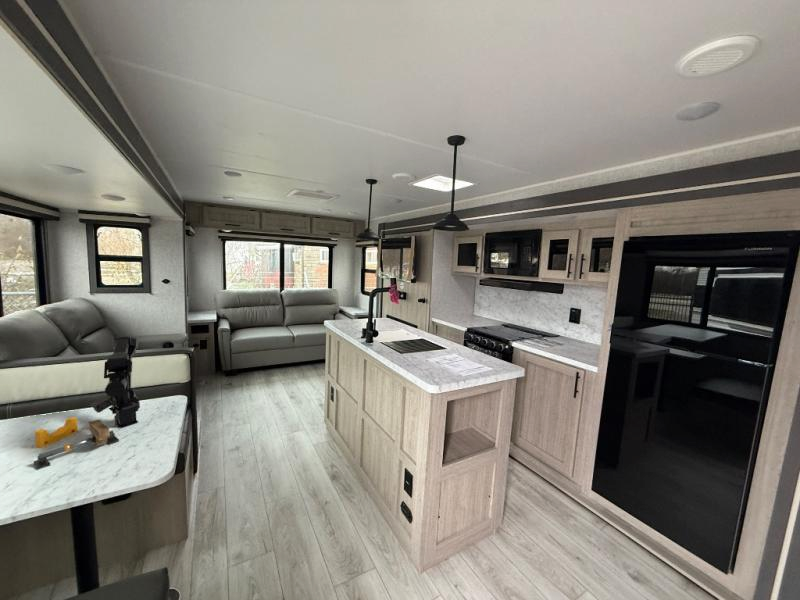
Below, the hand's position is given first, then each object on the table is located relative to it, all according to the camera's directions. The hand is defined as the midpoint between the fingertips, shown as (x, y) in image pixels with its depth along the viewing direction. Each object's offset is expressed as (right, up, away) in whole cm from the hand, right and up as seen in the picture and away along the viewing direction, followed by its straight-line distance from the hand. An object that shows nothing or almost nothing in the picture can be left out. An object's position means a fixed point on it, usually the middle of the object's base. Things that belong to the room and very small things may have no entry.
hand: (121, 424), depth 131 cm
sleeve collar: (-4, -6, -5) cm, 9 cm away
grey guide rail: (-7, -7, -10) cm, 14 cm away
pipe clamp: (-24, -5, -2) cm, 25 cm away
